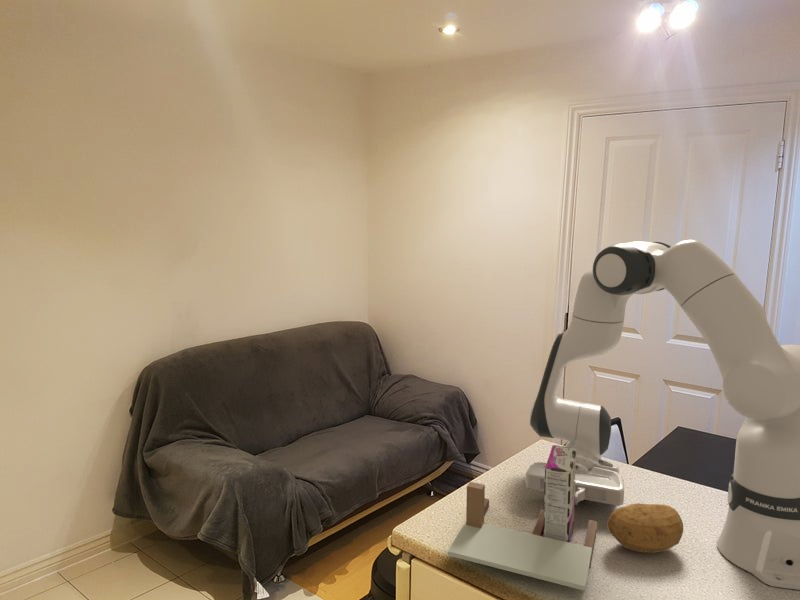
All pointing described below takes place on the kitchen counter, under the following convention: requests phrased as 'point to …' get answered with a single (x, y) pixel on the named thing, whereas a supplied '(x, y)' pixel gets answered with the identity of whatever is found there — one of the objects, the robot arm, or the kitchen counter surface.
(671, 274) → the robot arm
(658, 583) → the kitchen counter surface
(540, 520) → the frame
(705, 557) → the kitchen counter surface
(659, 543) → the potato
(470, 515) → the lid
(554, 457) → the candy bar box
